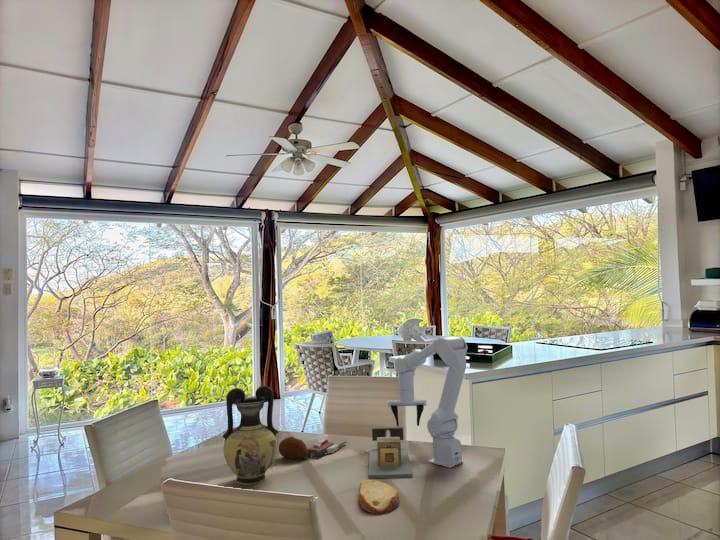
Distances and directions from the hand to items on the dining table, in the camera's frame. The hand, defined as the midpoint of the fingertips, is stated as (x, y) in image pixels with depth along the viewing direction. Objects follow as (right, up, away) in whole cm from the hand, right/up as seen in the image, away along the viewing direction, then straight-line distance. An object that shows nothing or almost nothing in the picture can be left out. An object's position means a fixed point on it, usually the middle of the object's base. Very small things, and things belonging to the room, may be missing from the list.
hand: (407, 425), depth 182 cm
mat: (-8, -8, -17) cm, 20 cm away
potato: (-43, -11, -6) cm, 45 cm away
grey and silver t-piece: (-8, -6, -6) cm, 12 cm away
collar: (-8, -7, -20) cm, 23 cm away
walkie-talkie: (-31, -11, +3) cm, 33 cm away
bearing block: (-8, -8, -17) cm, 20 cm away
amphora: (-54, -9, -26) cm, 61 cm away
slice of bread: (-14, -7, -45) cm, 47 cm away
